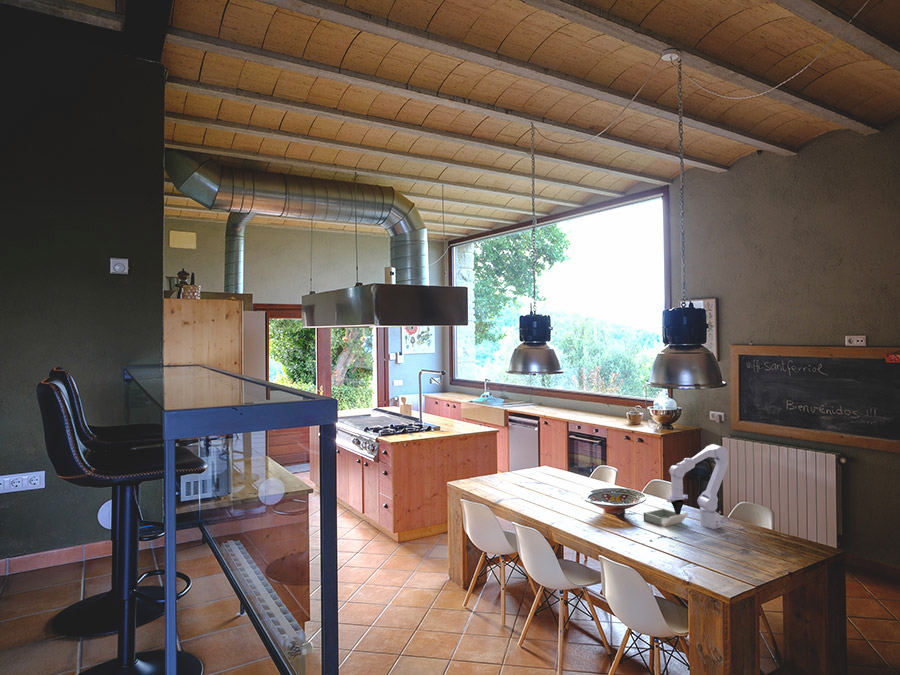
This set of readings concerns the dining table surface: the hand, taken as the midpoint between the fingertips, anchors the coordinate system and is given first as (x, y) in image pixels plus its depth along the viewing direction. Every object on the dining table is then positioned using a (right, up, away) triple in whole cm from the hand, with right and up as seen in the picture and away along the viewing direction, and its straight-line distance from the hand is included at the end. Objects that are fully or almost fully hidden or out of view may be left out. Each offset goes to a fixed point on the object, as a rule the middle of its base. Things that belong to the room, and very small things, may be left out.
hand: (677, 513), depth 290 cm
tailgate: (0, -4, +1) cm, 4 cm away
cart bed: (-5, -8, +9) cm, 13 cm away
